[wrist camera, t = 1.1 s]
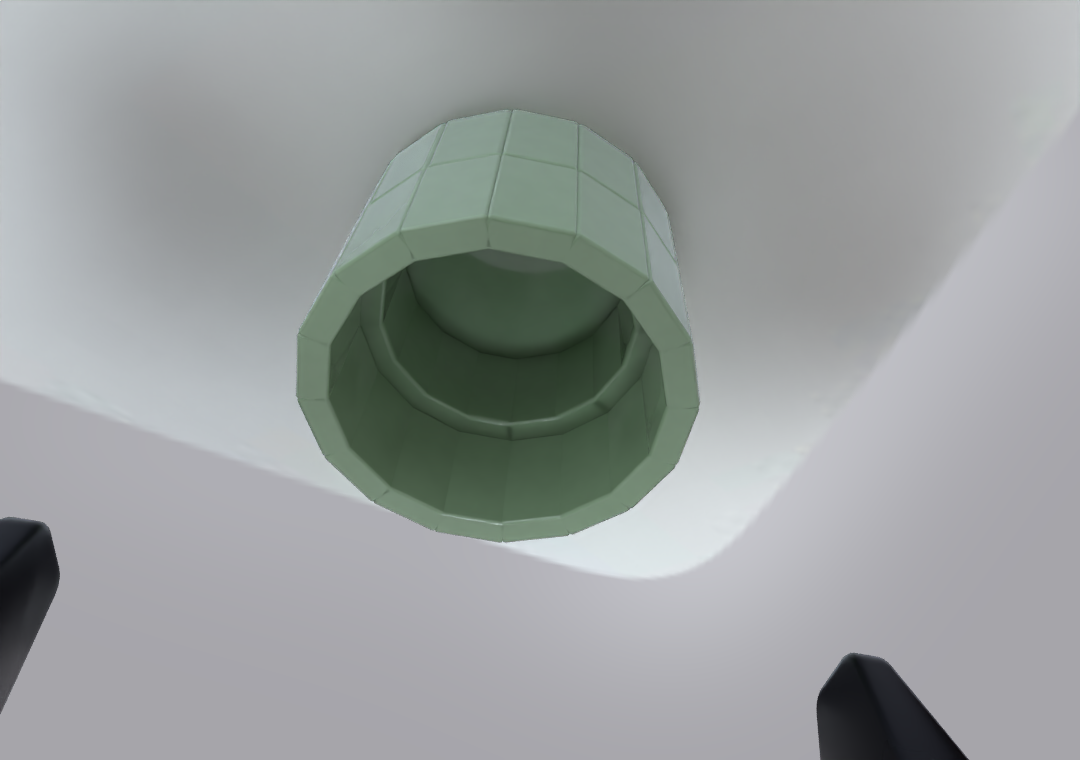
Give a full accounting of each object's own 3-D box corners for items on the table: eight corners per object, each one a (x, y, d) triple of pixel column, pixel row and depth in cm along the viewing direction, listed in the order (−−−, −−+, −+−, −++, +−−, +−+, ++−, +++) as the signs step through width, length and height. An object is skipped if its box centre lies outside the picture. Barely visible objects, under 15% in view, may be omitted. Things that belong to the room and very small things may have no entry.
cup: (626, 394, 18) (637, 567, 14) (360, 345, 18) (293, 509, 14) (710, 137, 15) (757, 268, 11) (380, 67, 14) (299, 178, 10)
